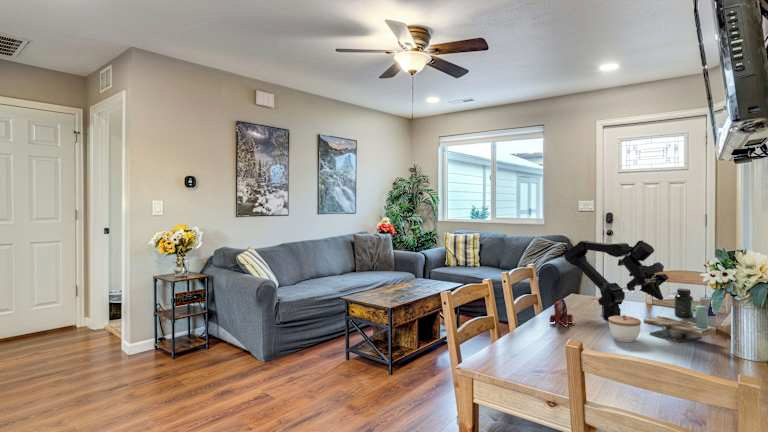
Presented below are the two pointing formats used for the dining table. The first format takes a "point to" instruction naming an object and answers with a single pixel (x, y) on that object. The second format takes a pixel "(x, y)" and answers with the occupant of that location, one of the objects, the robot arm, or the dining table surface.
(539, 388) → the dining table surface
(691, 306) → the supplement bottle
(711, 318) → the energy drink
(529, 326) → the dining table surface
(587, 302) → the dining table surface
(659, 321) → the balance beam
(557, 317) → the dark red irregular piece
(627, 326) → the lidded jar
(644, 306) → the dining table surface
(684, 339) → the beam stand
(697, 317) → the green rectangular block
